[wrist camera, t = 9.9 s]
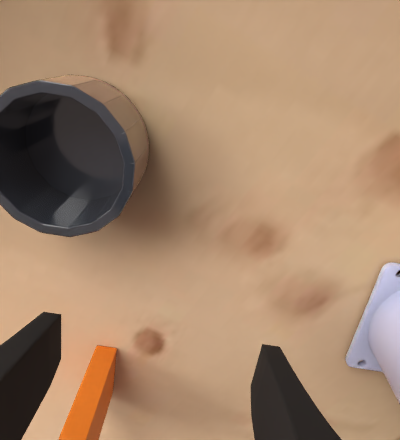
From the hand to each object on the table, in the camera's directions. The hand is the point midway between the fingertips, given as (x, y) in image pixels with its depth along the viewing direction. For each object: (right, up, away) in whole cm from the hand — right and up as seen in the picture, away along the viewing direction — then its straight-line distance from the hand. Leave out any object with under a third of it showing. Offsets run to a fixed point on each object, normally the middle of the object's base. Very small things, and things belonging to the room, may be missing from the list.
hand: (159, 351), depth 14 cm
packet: (-5, -6, +14) cm, 16 cm away
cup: (-5, +9, +7) cm, 12 cm away
